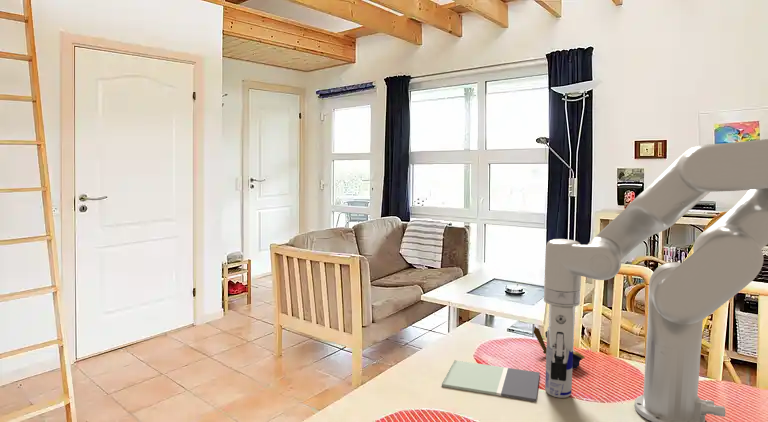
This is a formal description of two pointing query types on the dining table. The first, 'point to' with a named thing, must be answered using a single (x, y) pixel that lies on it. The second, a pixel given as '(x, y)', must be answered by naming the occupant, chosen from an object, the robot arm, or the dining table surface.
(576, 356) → the toy
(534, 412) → the dining table surface
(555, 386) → the beverage can
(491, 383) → the mat
